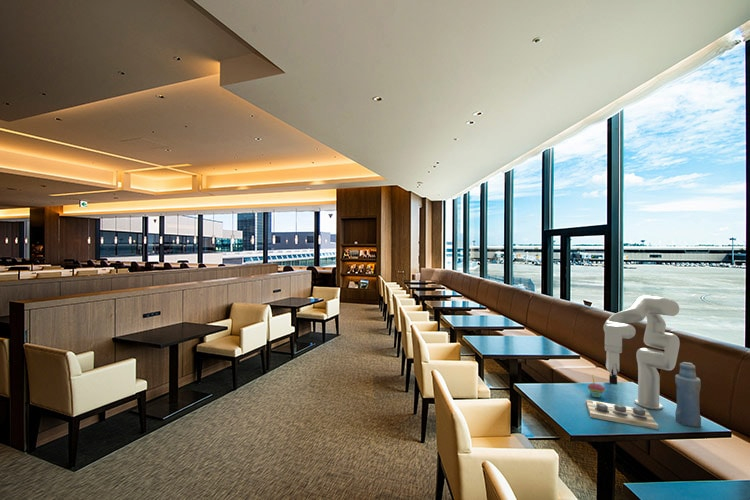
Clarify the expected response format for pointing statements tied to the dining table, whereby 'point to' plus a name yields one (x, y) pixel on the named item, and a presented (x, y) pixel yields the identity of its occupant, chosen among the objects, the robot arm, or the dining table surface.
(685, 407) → the bottle
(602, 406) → the button far
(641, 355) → the robot arm
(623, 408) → the button middle
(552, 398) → the dining table surface
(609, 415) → the button board
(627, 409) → the pattern card
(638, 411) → the button near bottle
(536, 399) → the dining table surface
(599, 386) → the cupcake
